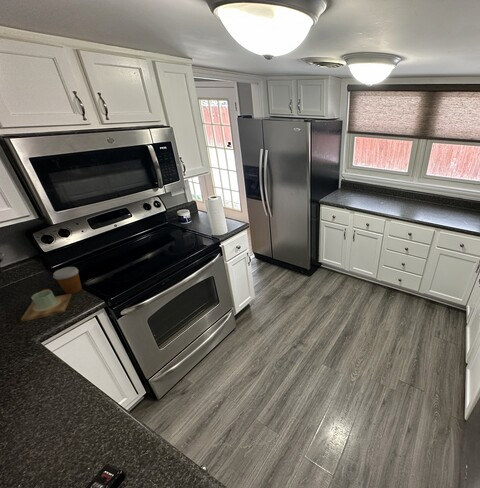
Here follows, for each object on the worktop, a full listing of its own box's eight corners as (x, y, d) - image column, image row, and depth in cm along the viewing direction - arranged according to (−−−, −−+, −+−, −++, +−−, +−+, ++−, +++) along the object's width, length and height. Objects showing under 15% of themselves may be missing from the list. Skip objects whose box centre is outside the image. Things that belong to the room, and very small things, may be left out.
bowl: (57, 308, 122) (52, 297, 120) (29, 314, 118) (22, 303, 115) (63, 296, 130) (58, 286, 127) (37, 302, 126) (31, 291, 123)
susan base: (22, 321, 116) (20, 319, 115) (33, 304, 127) (32, 301, 126) (64, 312, 123) (62, 309, 122) (71, 295, 133) (70, 293, 133)
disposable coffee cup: (65, 298, 131) (55, 278, 126) (59, 292, 136) (49, 272, 131) (89, 289, 139) (80, 270, 133) (82, 283, 143) (73, 264, 138)
